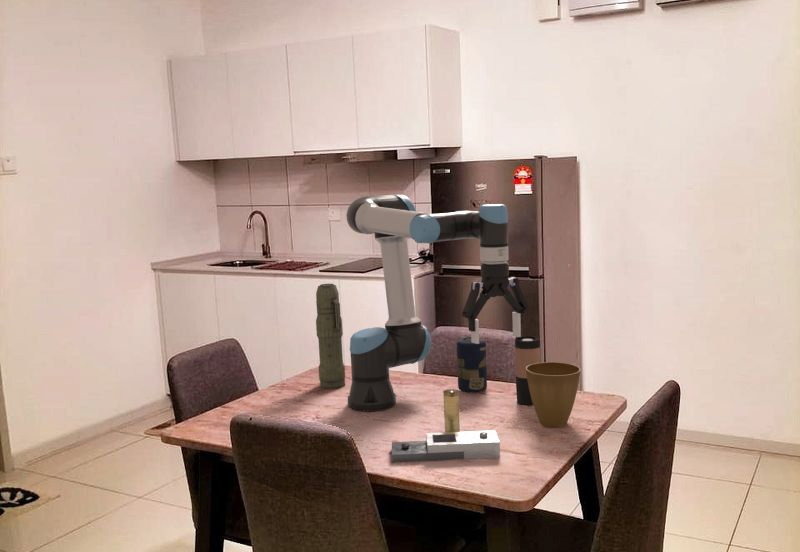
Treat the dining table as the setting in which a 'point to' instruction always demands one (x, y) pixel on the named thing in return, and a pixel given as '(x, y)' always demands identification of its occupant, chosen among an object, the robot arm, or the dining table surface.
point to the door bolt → (448, 447)
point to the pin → (451, 410)
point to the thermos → (329, 337)
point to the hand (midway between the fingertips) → (496, 339)
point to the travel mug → (525, 365)
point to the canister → (471, 365)
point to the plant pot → (553, 391)
